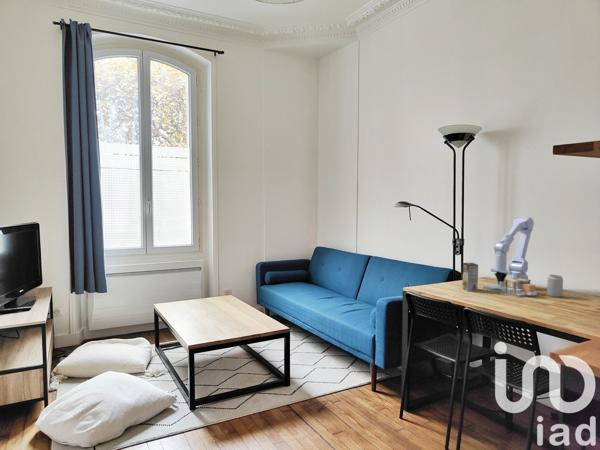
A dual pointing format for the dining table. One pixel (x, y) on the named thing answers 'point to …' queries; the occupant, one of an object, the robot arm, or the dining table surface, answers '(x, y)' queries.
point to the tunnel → (514, 280)
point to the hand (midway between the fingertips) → (500, 284)
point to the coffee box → (470, 277)
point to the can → (555, 286)
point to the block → (528, 288)
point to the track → (509, 291)
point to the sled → (501, 284)
